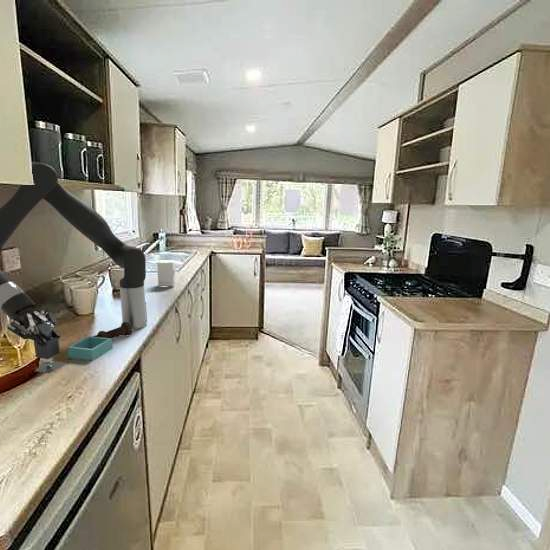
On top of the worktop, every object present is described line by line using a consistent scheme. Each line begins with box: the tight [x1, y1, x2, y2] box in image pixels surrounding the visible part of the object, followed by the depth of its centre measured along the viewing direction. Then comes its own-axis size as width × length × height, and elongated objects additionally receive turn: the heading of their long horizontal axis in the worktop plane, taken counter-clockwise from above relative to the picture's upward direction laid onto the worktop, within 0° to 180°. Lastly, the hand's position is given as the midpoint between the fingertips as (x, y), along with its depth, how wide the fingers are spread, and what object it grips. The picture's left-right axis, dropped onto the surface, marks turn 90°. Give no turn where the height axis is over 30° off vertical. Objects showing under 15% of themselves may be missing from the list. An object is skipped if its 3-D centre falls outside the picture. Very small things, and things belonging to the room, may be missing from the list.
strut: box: [33, 321, 61, 359], centre depth 112 cm, size 4×4×10 cm
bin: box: [67, 335, 114, 361], centre depth 124 cm, size 10×9×5 cm
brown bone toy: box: [92, 322, 133, 340], centre depth 138 cm, size 6×5×15 cm
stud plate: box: [34, 356, 68, 374], centre depth 113 cm, size 7×7×5 cm
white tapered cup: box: [156, 259, 176, 288], centre depth 220 cm, size 9×9×15 cm
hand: (51, 341), depth 111 cm, fingers closed on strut, 4 cm apart
